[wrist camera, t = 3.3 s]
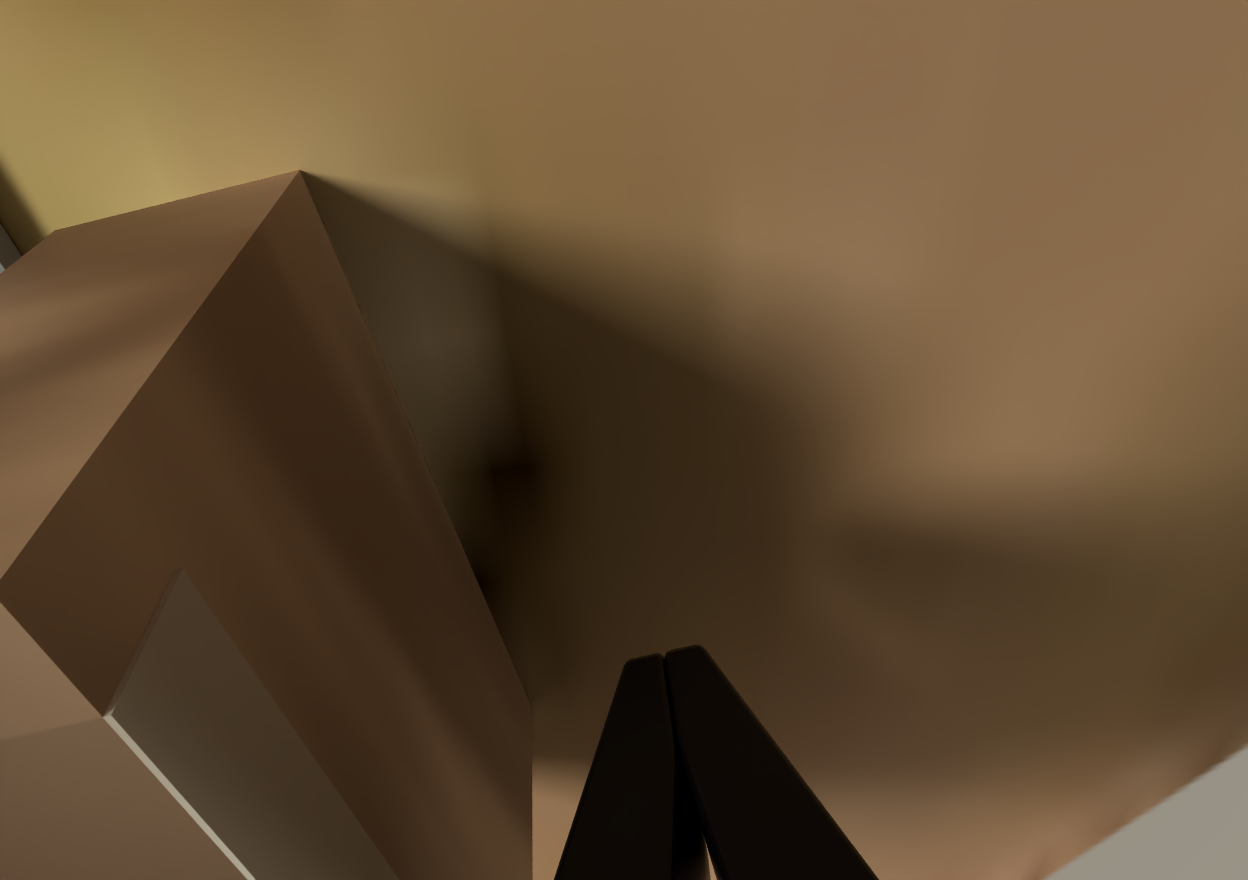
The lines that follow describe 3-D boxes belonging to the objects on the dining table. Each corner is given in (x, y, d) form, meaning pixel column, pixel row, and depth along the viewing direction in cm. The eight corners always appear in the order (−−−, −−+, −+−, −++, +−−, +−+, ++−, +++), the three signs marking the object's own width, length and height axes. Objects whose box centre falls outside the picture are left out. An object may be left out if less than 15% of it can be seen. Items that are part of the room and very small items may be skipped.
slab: (304, 167, 10) (2, 589, 4) (534, 704, 16) (537, 1199, 10) (53, 229, 10) (-571, 720, 4) (370, 740, 16) (279, 1248, 10)
